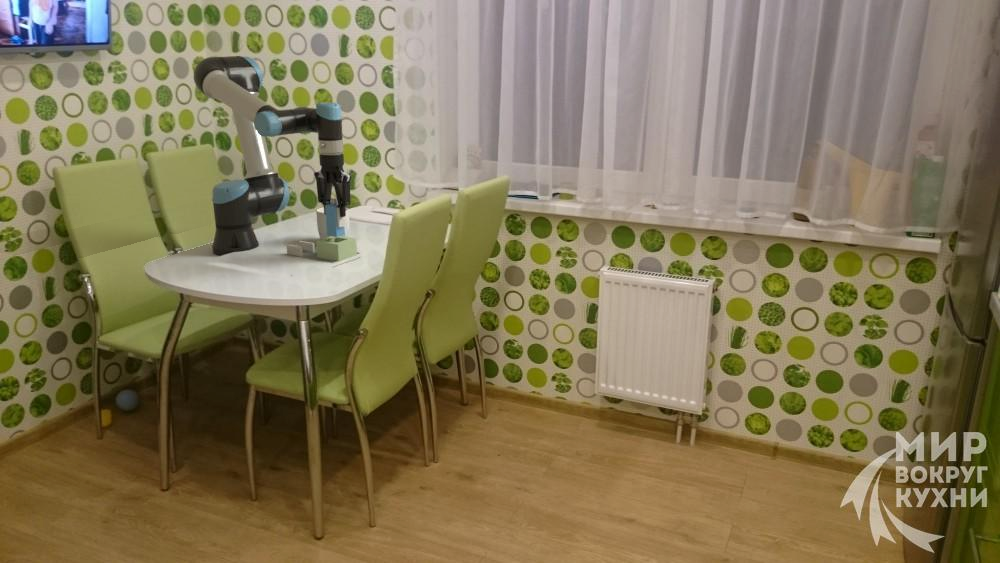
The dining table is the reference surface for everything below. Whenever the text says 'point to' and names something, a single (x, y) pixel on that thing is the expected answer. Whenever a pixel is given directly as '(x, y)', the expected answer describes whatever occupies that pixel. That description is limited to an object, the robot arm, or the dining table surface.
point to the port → (336, 248)
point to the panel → (307, 251)
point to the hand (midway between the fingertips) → (335, 225)
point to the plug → (333, 220)
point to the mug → (322, 223)
